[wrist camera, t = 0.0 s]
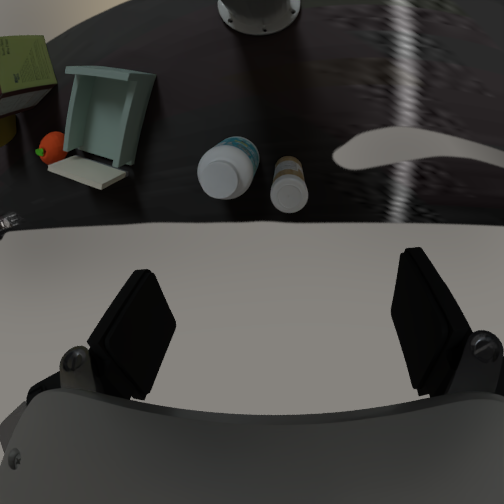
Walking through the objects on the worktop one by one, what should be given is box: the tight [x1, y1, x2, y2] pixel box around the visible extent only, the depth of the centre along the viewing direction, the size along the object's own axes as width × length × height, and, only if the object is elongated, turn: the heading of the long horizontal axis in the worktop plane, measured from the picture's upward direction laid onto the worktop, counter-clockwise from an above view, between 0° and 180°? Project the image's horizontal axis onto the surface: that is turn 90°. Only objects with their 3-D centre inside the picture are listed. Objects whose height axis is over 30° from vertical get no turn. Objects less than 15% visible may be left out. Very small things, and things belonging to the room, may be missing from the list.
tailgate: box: [48, 155, 129, 190], centre depth 41 cm, size 1×13×9 cm, turn 69°
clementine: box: [36, 131, 68, 165], centre depth 41 cm, size 8×7×7 cm
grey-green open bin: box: [63, 66, 156, 168], centre depth 37 cm, size 17×13×9 cm
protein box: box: [0, 35, 57, 119], centre depth 28 cm, size 10×15×16 cm
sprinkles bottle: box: [270, 156, 308, 213], centre depth 38 cm, size 5×5×14 cm
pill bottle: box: [198, 137, 259, 199], centre depth 38 cm, size 8×7×14 cm
